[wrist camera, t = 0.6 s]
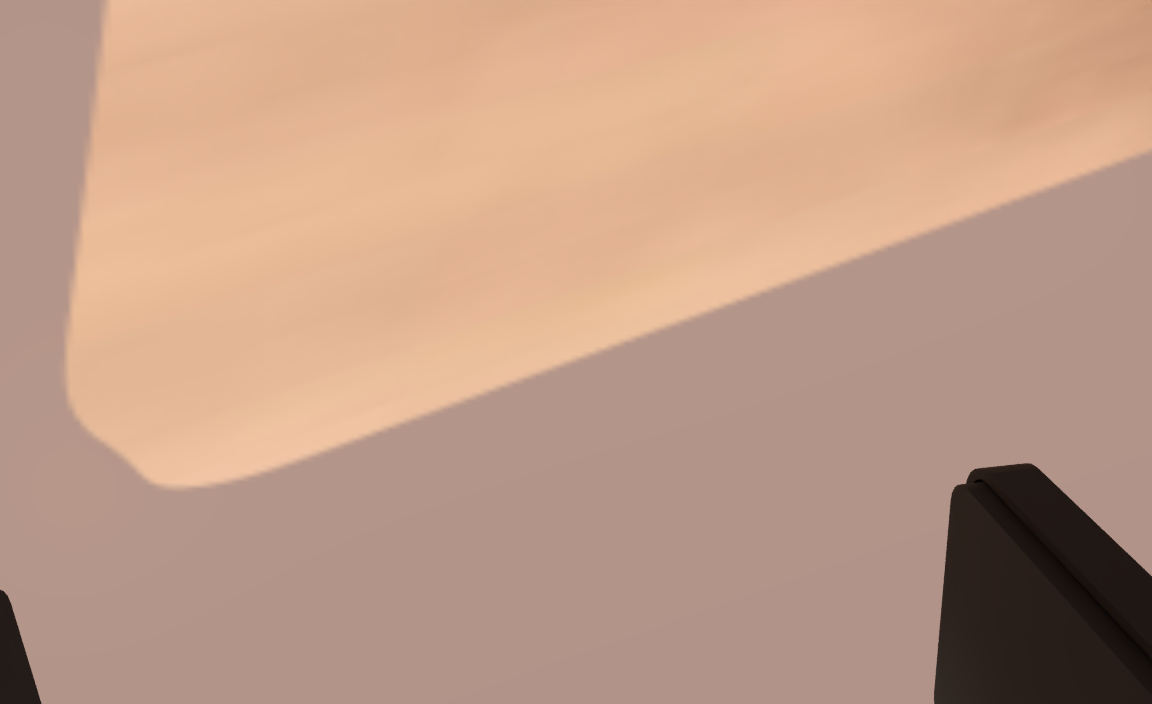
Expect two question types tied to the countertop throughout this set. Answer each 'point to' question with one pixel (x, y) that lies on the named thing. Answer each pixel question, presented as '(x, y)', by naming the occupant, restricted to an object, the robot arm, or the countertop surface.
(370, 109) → the countertop surface
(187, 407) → the countertop surface
